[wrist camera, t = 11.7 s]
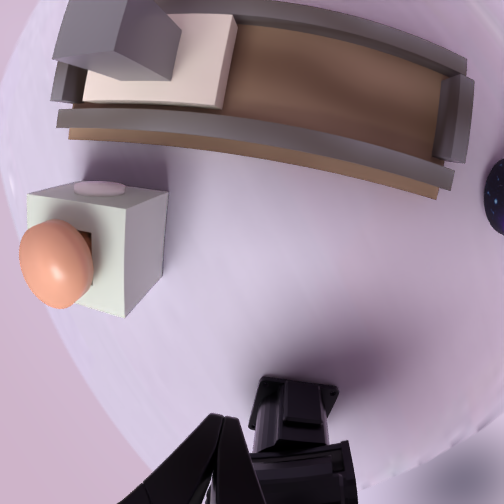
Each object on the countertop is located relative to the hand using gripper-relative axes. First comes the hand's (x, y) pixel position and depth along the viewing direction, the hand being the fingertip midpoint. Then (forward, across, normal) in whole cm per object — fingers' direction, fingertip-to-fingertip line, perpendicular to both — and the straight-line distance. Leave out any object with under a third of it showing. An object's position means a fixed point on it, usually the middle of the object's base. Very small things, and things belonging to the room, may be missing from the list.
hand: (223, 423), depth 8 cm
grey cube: (+13, +10, -1) cm, 16 cm away
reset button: (+9, +10, -1) cm, 14 cm away
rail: (+13, +2, -12) cm, 18 cm away
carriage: (+11, +7, -12) cm, 18 cm away
